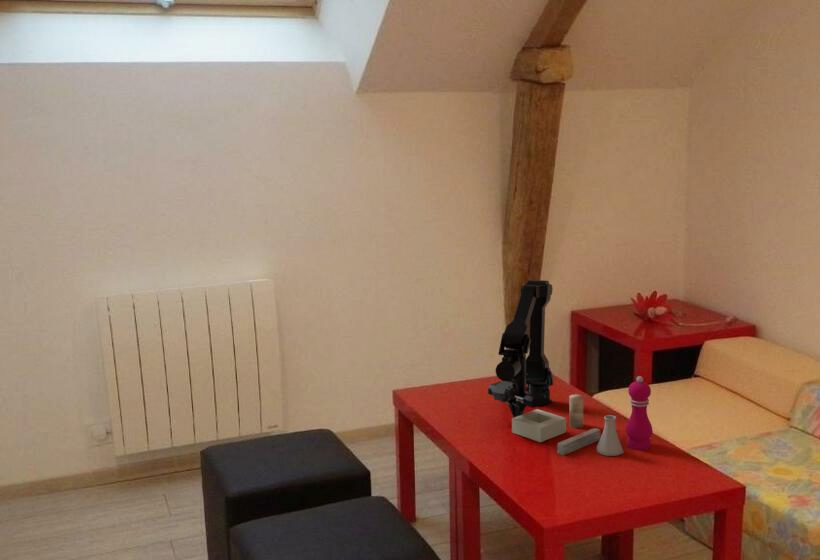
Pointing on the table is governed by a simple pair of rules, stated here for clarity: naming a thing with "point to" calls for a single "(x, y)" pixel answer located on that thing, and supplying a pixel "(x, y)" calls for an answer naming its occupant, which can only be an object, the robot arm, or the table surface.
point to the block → (538, 425)
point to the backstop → (578, 441)
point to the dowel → (576, 411)
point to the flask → (609, 439)
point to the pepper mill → (639, 416)
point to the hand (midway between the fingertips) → (516, 421)
